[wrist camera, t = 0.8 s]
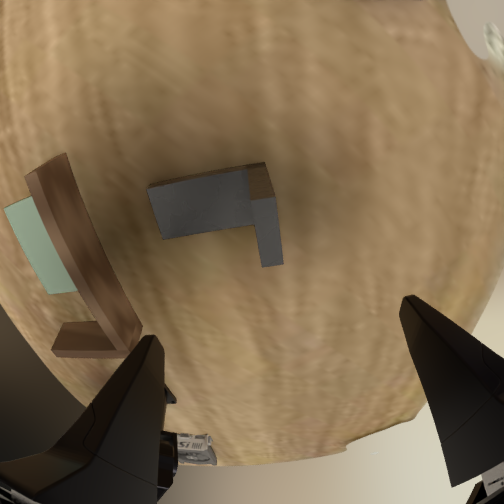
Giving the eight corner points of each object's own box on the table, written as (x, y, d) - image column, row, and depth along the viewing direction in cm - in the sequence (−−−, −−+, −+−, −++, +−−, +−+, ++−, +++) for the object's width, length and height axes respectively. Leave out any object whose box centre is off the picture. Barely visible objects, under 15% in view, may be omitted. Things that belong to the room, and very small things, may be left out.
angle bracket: (264, 162, 19) (275, 196, 14) (272, 214, 21) (283, 264, 16) (150, 184, 19) (121, 225, 14) (165, 232, 21) (146, 284, 16)
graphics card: (143, 443, 41) (208, 449, 41) (146, 425, 44) (209, 430, 44) (168, 464, 50) (220, 468, 50) (169, 450, 53) (220, 454, 53)
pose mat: (92, 287, 24) (91, 289, 24) (49, 292, 24) (48, 294, 24) (46, 189, 18) (44, 190, 18) (5, 207, 19) (3, 208, 18)
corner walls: (142, 326, 27) (134, 358, 23) (68, 330, 27) (57, 357, 24) (65, 152, 17) (35, 170, 14) (-9, 189, 17) (-35, 209, 14)
